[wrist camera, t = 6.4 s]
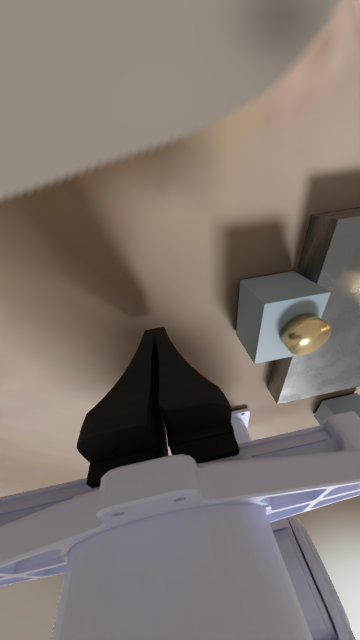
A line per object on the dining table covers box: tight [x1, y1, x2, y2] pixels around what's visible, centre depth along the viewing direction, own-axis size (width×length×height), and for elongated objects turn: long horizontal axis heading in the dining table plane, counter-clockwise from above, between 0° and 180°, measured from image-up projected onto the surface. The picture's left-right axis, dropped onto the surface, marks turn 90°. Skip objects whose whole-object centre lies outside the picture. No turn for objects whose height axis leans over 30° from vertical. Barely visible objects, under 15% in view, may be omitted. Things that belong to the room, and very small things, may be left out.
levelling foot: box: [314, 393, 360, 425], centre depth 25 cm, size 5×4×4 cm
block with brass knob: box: [236, 271, 331, 364], centre depth 13 cm, size 4×5×4 cm
